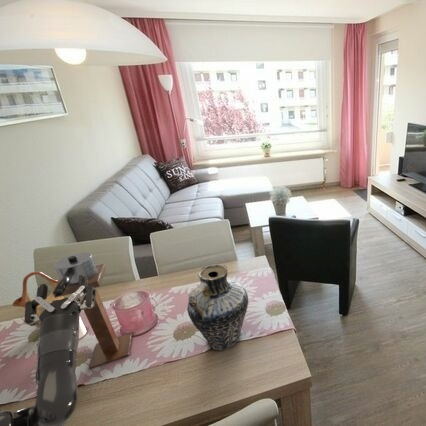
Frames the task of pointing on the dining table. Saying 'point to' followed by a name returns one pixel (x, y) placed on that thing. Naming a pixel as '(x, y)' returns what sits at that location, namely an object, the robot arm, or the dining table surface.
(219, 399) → the dining table surface
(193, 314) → the blue patterned vase
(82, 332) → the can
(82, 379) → the dining table surface
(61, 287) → the pot
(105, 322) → the stand
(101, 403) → the dining table surface
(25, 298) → the ceramic vessel
